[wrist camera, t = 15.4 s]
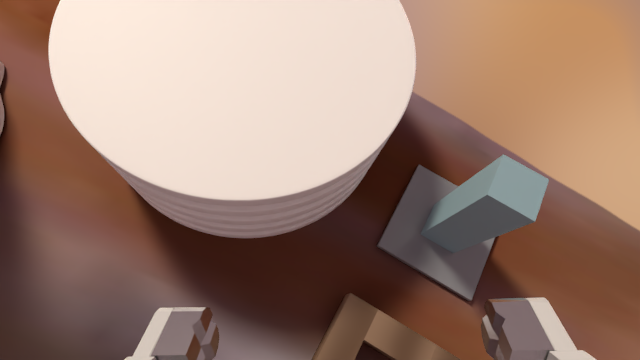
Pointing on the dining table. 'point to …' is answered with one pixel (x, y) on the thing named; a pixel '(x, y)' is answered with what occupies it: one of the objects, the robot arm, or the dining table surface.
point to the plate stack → (235, 101)
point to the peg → (486, 205)
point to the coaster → (423, 253)
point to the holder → (373, 335)
